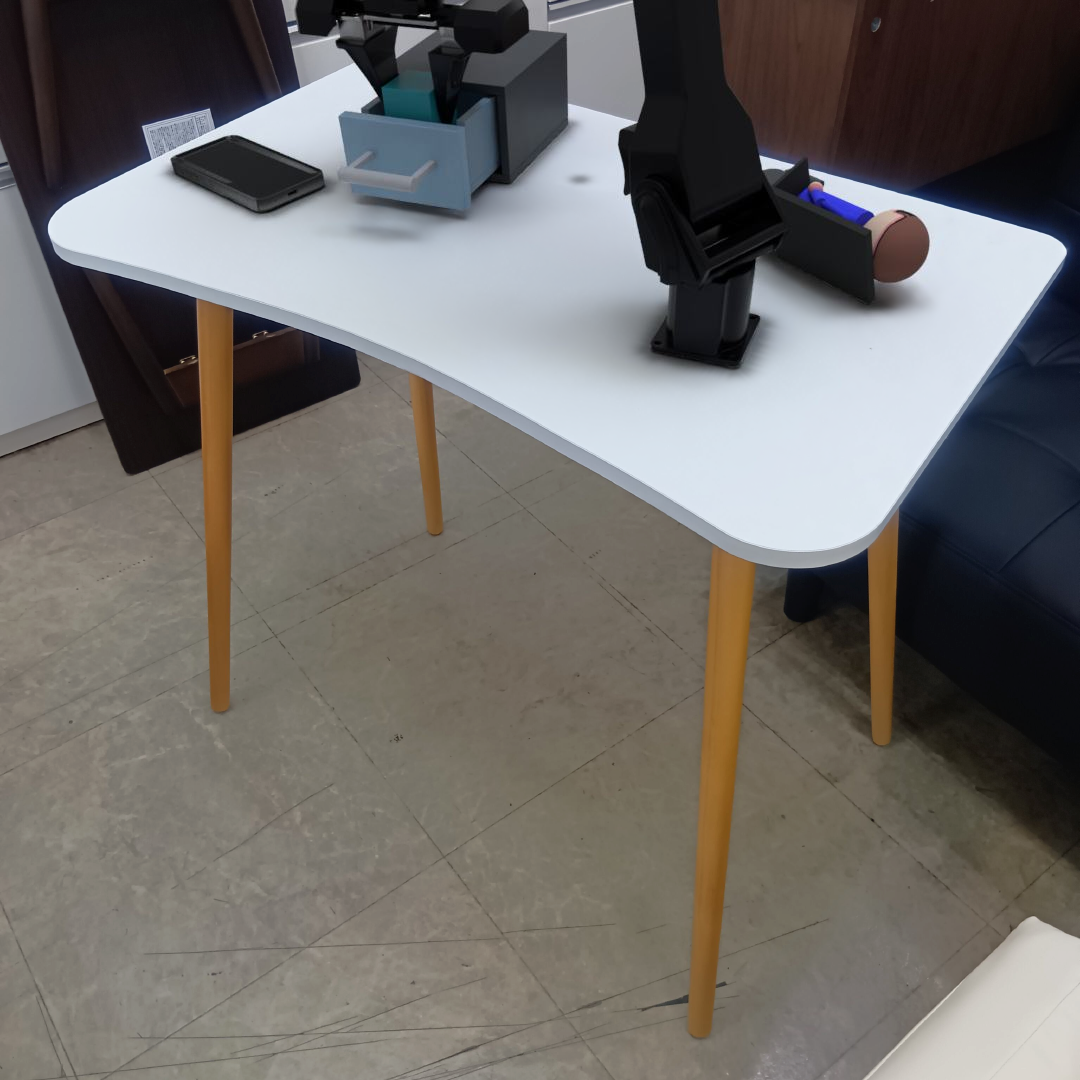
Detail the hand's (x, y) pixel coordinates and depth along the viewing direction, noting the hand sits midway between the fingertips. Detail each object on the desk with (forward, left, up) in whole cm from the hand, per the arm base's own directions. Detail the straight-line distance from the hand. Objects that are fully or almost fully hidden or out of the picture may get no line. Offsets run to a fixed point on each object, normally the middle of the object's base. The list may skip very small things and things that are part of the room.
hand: (423, 123), depth 84 cm
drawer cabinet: (+11, 0, -6) cm, 13 cm away
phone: (-3, +18, -6) cm, 19 cm away
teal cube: (0, 0, -1) cm, 1 cm away
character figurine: (-3, -36, -6) cm, 37 cm away
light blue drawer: (0, 0, -5) cm, 5 cm away
